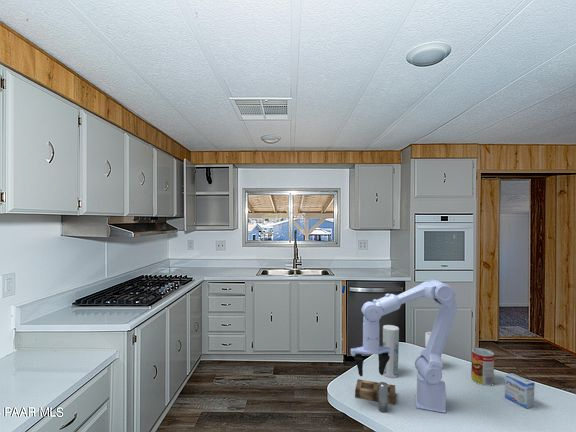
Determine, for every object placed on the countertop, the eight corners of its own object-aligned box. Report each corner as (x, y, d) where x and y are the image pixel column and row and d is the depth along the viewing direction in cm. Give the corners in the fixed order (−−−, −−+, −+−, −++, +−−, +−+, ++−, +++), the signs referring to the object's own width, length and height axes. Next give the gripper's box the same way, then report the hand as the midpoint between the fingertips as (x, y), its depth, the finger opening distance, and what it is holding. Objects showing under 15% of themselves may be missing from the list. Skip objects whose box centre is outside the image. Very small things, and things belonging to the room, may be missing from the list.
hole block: (395, 393, 125) (395, 385, 125) (395, 404, 118) (395, 396, 118) (357, 386, 130) (357, 379, 130) (355, 397, 122) (355, 389, 122)
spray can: (383, 369, 145) (383, 324, 145) (398, 372, 142) (399, 326, 142) (381, 376, 139) (382, 328, 139) (397, 379, 136) (398, 330, 136)
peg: (387, 408, 115) (387, 382, 115) (387, 413, 112) (387, 386, 112) (378, 407, 116) (378, 381, 116) (378, 411, 113) (378, 385, 113)
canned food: (481, 375, 141) (481, 347, 141) (498, 384, 133) (498, 354, 133) (466, 377, 138) (467, 349, 138) (483, 387, 131) (483, 356, 131)
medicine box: (504, 397, 123) (504, 374, 123) (512, 395, 125) (512, 372, 125) (526, 409, 116) (527, 384, 116) (534, 406, 118) (535, 382, 118)
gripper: (385, 331, 124) (385, 368, 124) (348, 333, 122) (347, 370, 122) (394, 338, 117) (393, 377, 117) (354, 340, 115) (354, 379, 115)
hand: (370, 374), depth 119 cm, fingers open, 7 cm apart
